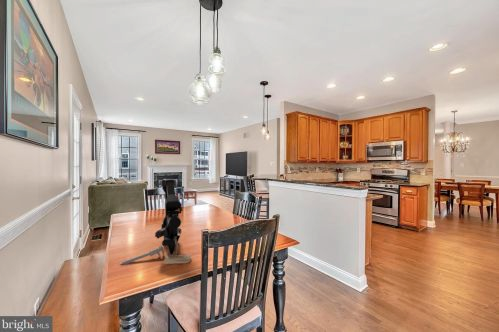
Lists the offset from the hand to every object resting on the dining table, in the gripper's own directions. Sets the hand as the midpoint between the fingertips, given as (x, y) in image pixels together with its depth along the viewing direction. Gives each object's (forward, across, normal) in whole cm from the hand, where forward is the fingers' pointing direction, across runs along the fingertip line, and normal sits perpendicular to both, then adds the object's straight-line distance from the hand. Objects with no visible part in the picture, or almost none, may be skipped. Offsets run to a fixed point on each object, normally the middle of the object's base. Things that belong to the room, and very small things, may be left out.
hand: (172, 252), depth 112 cm
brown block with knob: (+1, 0, 0) cm, 1 cm away
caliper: (+2, +3, -14) cm, 15 cm away
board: (+2, +7, +4) cm, 8 cm away
